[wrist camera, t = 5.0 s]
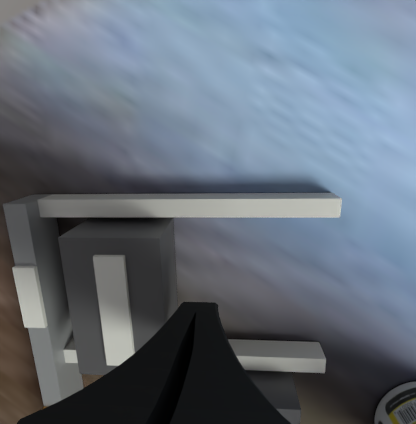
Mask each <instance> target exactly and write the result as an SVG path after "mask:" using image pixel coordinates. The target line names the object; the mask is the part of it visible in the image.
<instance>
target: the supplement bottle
mask: <svg viewBox="0 0 416 424" xmlns="http://www.w3.org/2000/svg"><path fill="white" fill-rule="evenodd" d="M374 422H375V424H416V381H414V382H409V383H405V384H402V385H400V386H398V387H396V388H394V389H392V390H391V391H389V392H388V393H387V394H386V395H385V396H384V397H383V398H382V400H381V401H380V403H379V404H378V407H377V409H376V412H375V418H374Z"/></svg>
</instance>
